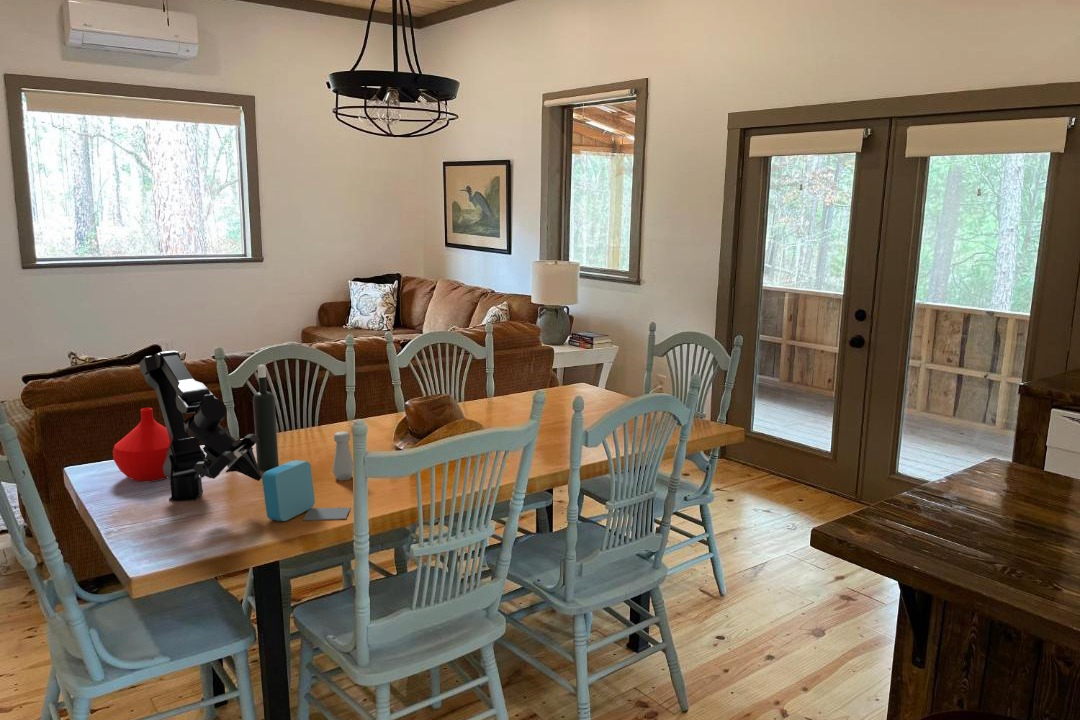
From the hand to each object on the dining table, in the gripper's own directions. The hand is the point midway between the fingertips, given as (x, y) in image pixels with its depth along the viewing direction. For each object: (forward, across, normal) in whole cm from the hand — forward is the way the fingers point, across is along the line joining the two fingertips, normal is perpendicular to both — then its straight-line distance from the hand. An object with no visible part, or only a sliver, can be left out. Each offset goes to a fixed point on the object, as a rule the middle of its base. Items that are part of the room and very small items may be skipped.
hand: (260, 479), depth 195 cm
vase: (-22, -27, -35) cm, 50 cm away
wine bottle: (-1, -35, -14) cm, 38 cm away
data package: (+11, 0, -1) cm, 11 cm away
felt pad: (+17, -1, +5) cm, 18 cm away
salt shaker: (+16, -27, +2) cm, 31 cm away
